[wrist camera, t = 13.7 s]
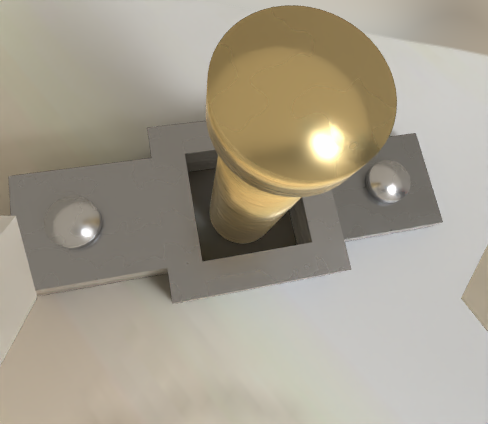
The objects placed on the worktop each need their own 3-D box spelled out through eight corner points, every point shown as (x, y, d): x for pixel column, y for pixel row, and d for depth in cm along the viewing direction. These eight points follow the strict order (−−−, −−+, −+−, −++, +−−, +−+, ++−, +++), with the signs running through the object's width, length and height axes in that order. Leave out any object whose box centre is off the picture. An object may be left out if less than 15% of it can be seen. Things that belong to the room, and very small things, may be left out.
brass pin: (273, 167, 25) (369, 0, 11) (290, 245, 24) (419, 165, 10) (193, 178, 24) (192, 11, 10) (207, 260, 23) (226, 193, 9)
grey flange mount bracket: (396, 118, 27) (426, 91, 23) (436, 253, 25) (476, 245, 21) (30, 164, 23) (0, 138, 19) (42, 329, 21) (11, 333, 17)
